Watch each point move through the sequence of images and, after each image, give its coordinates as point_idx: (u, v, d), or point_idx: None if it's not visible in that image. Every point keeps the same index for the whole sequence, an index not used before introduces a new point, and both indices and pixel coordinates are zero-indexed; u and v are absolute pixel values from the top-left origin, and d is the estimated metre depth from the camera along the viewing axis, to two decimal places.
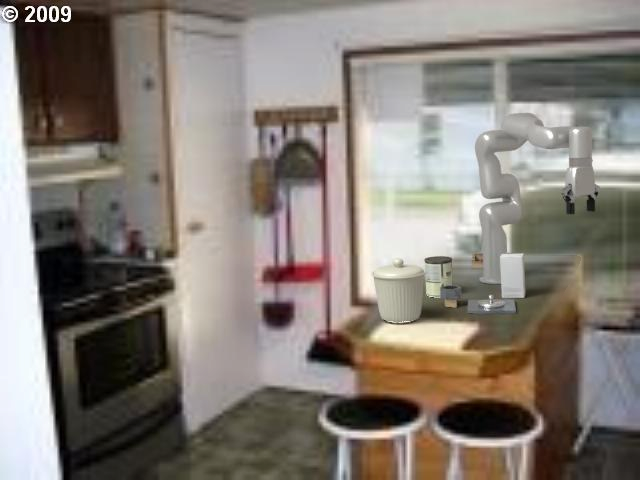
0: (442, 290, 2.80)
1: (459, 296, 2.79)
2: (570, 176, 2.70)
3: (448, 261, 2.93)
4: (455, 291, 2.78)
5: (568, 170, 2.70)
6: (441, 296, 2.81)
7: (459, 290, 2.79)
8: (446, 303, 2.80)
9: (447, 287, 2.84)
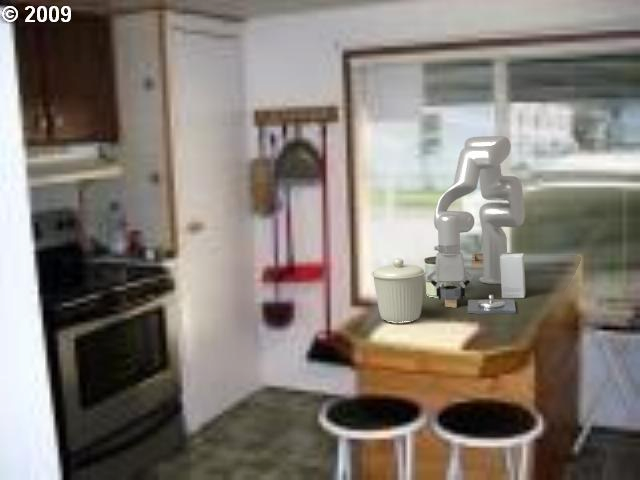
0: (442, 290, 2.80)
1: (459, 296, 2.79)
2: (463, 260, 2.79)
3: None
4: (455, 291, 2.78)
5: (462, 255, 2.78)
6: (441, 296, 2.81)
7: (459, 290, 2.79)
8: (446, 303, 2.80)
9: (447, 287, 2.84)
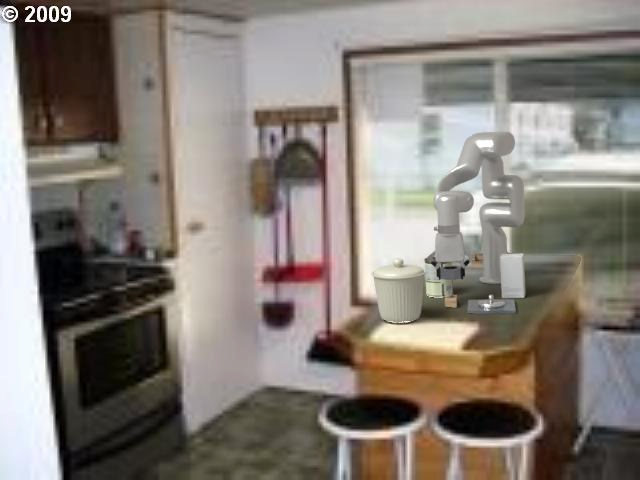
0: (442, 270, 2.79)
1: (459, 276, 2.79)
2: None
3: None
4: (455, 271, 2.78)
5: None
6: (441, 276, 2.80)
7: (459, 270, 2.79)
8: (446, 303, 2.80)
9: (447, 267, 2.83)
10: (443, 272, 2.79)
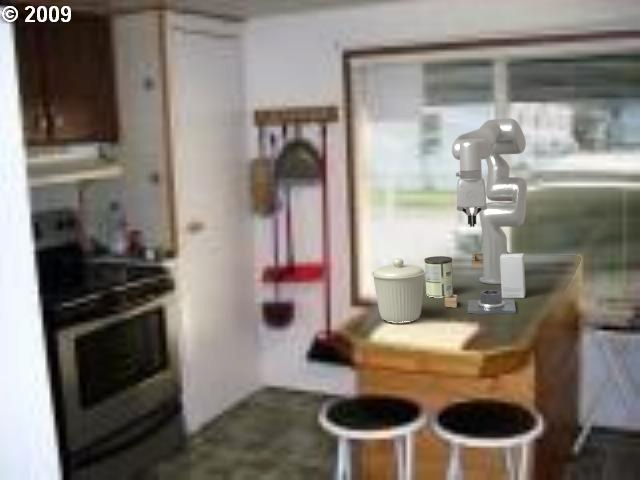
0: (482, 295, 2.73)
1: (500, 301, 2.73)
2: None
3: (448, 261, 2.93)
4: (496, 296, 2.72)
5: None
6: (482, 301, 2.74)
7: (500, 295, 2.73)
8: (446, 303, 2.80)
9: (487, 292, 2.77)
10: (484, 297, 2.73)
